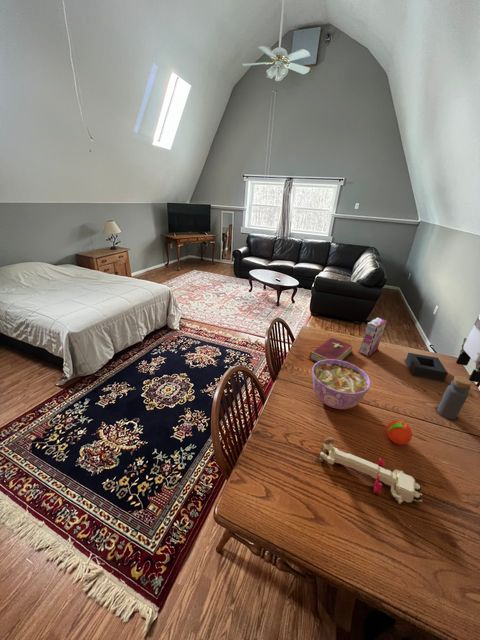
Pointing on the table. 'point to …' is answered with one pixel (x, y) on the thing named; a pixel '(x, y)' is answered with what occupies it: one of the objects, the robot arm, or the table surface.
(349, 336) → the table surface
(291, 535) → the table surface
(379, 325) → the candy bar box
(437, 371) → the holder
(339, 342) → the hardcover book
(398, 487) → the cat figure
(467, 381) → the bottle
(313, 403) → the table surface
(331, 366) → the bowl of food
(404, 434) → the red tomato
